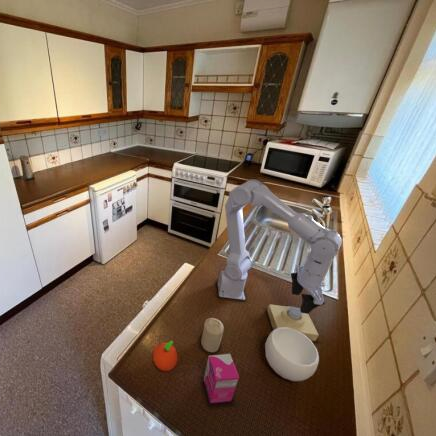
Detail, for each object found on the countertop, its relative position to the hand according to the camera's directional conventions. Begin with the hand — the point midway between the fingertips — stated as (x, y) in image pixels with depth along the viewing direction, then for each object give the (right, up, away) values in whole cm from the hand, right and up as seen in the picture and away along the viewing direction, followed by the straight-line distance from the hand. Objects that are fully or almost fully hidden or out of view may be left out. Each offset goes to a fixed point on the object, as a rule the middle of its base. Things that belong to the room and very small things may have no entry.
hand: (299, 302), depth 75 cm
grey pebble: (0, -5, +3) cm, 6 cm away
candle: (-29, -12, -1) cm, 31 cm away
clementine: (-43, -15, -6) cm, 46 cm away
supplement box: (-30, -19, -13) cm, 38 cm away
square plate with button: (0, -9, +5) cm, 10 cm away
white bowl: (-9, -16, -7) cm, 20 cm away
